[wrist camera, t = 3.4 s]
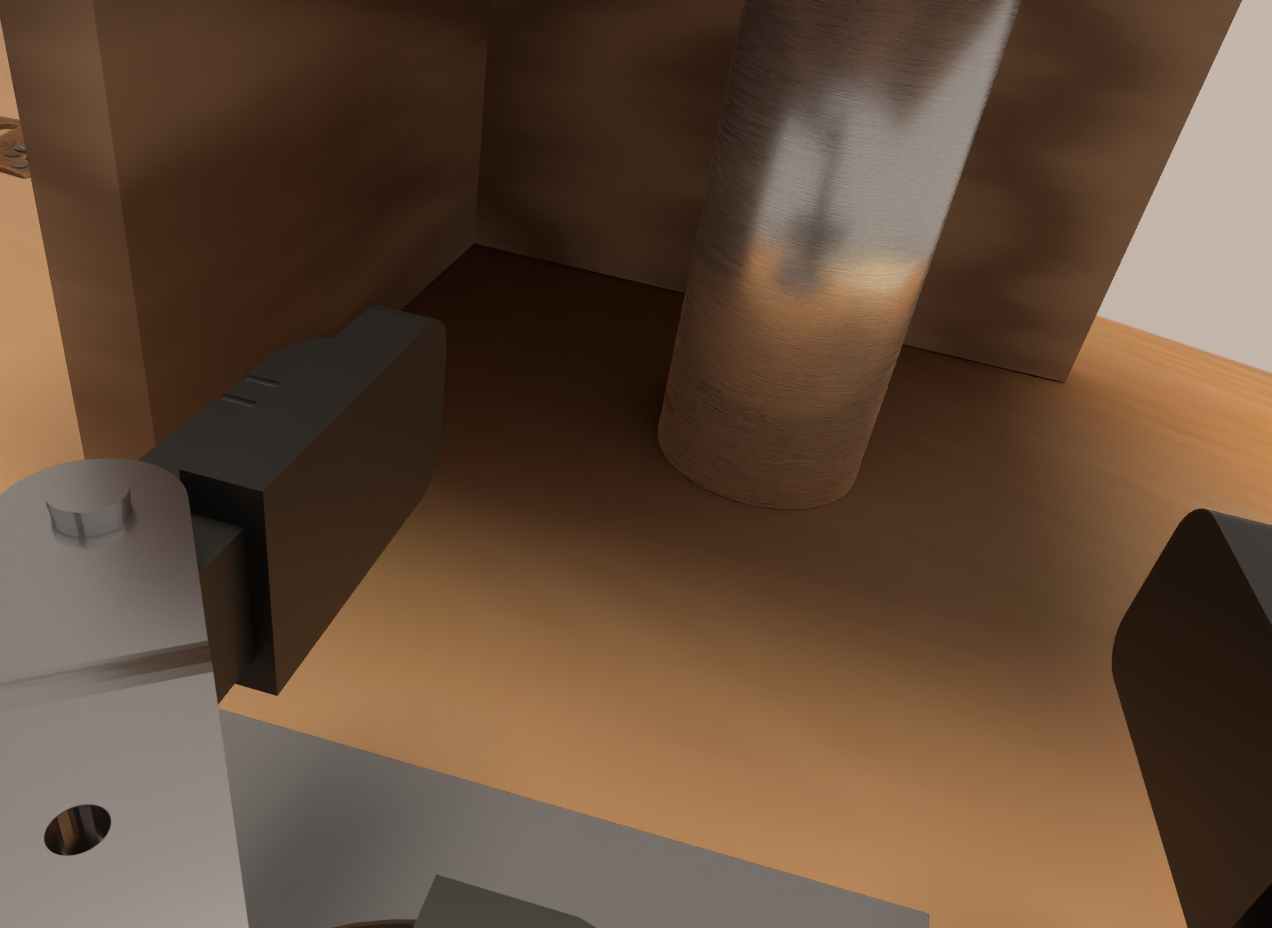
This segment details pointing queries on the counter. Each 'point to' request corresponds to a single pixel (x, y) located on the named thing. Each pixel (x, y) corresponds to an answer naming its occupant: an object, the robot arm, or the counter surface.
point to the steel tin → (820, 234)
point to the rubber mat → (479, 850)
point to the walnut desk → (513, 169)
